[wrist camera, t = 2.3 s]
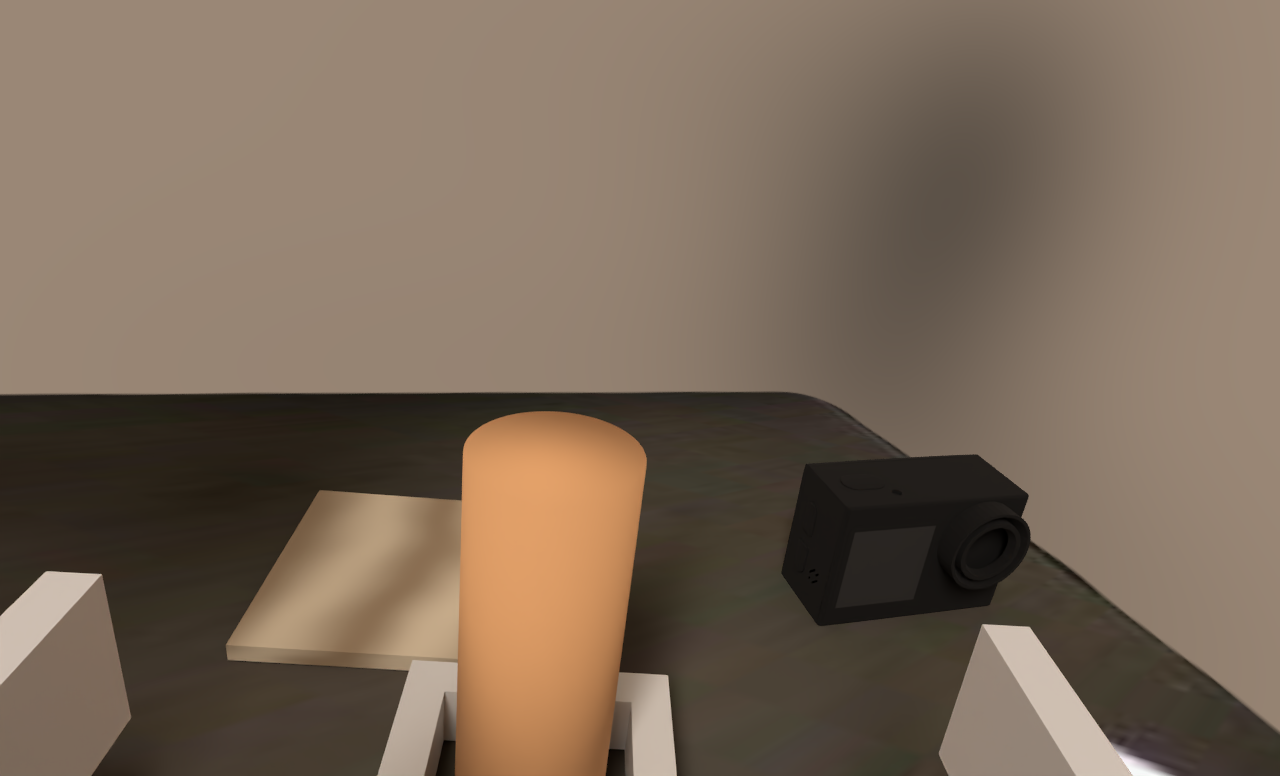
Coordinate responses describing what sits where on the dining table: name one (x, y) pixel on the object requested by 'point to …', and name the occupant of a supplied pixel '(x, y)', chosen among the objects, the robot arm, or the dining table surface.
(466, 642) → the copper rod
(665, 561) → the dining table surface
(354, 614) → the birch pad
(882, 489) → the digital camera
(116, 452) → the dining table surface
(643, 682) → the collar
